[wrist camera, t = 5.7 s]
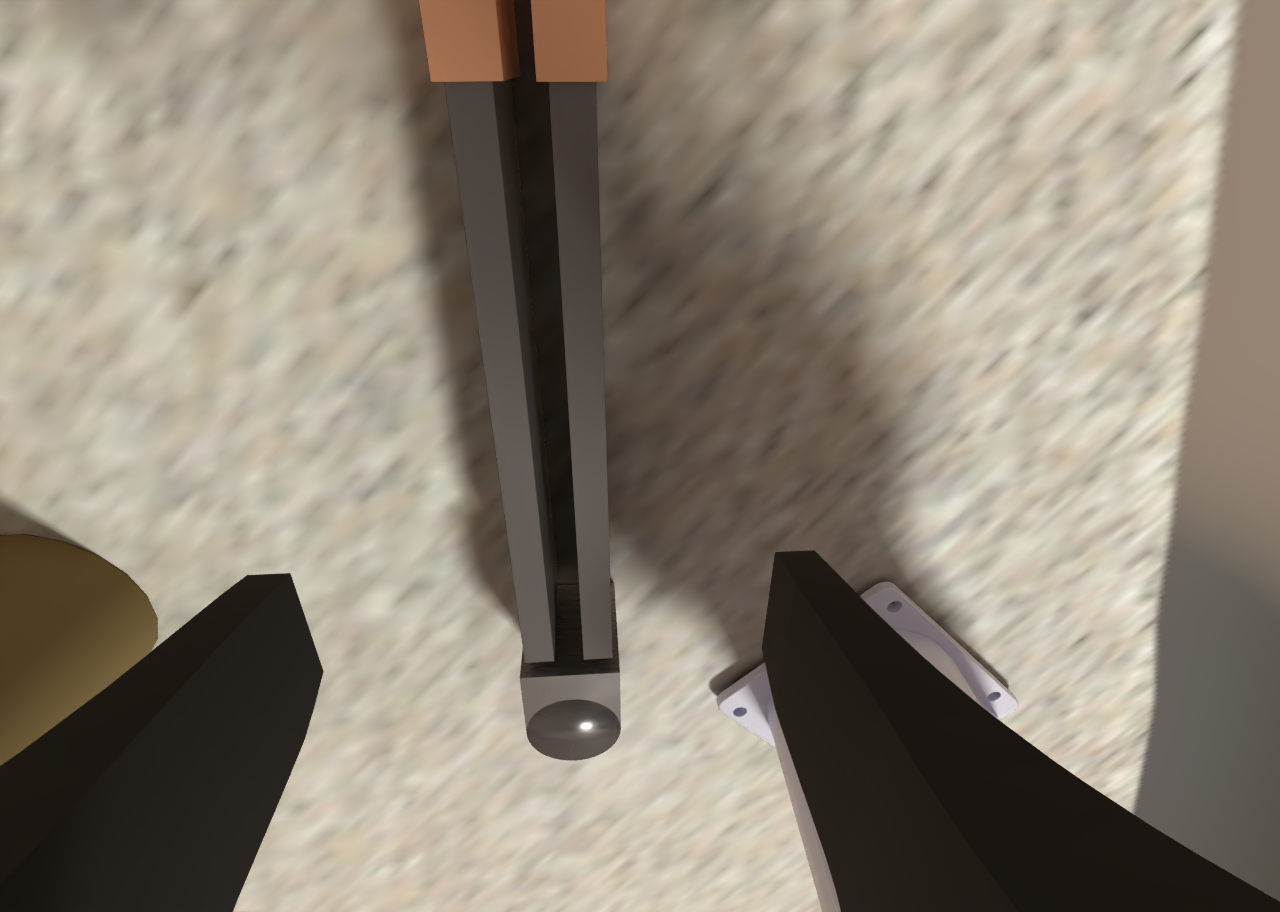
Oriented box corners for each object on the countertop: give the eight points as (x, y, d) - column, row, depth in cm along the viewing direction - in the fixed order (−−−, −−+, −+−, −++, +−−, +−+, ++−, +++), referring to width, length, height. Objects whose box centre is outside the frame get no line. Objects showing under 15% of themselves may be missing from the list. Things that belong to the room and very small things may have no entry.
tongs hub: (615, 663, 24) (621, 757, 21) (537, 667, 24) (530, 763, 21) (614, 582, 22) (619, 672, 19) (528, 586, 22) (519, 678, 19)
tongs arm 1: (614, 572, 22) (619, 660, 19) (577, 574, 22) (576, 662, 19) (597, -101, 13) (602, -151, 10) (535, -102, 13) (520, -154, 10)
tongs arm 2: (564, 574, 22) (561, 663, 18) (527, 576, 22) (517, 666, 18) (504, -104, 13) (479, -155, 10) (441, -103, 13) (396, -156, 10)
